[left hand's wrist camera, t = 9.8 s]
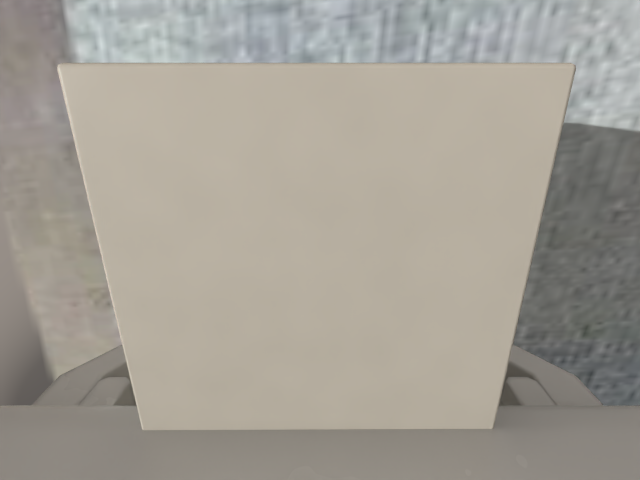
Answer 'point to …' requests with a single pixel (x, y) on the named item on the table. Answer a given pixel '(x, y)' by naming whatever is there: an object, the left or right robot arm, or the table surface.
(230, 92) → the beam
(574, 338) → the table surface
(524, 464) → the left robot arm
